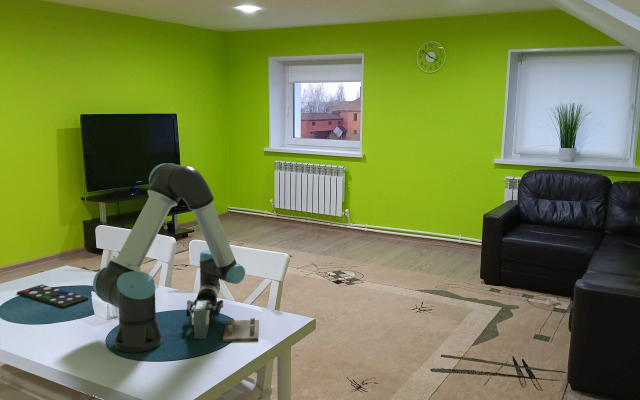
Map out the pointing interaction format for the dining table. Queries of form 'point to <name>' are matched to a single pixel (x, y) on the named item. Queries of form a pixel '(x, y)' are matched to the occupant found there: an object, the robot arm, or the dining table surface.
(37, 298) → the remote control
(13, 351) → the dining table surface
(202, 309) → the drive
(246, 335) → the pin tray
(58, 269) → the dining table surface
